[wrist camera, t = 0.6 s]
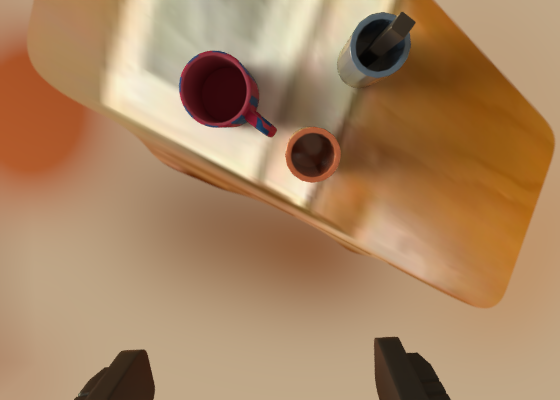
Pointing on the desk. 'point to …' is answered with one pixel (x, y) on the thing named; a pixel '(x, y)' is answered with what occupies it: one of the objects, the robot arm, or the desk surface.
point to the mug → (221, 92)
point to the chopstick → (387, 39)
